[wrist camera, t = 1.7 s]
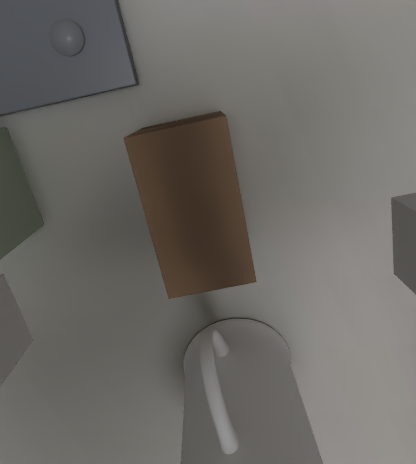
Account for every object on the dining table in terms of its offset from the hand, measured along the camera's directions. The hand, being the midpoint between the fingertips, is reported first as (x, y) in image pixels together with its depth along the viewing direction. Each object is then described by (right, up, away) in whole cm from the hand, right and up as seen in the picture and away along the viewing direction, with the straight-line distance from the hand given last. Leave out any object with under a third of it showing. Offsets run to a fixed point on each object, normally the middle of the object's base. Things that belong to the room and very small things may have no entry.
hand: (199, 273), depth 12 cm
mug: (+2, -8, +17) cm, 19 cm away
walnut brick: (0, +4, +12) cm, 13 cm away
